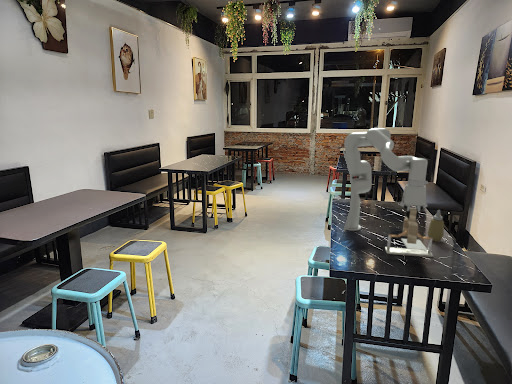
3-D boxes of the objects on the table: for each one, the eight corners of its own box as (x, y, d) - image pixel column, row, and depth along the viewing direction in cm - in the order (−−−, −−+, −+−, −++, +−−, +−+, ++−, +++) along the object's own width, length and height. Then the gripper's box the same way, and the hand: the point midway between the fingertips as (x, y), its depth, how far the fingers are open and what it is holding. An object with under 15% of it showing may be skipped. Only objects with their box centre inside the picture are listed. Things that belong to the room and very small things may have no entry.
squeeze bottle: (434, 243, 184) (438, 212, 179) (423, 238, 191) (427, 208, 187) (445, 241, 186) (450, 211, 181) (434, 236, 193) (439, 207, 189)
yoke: (402, 234, 175) (405, 205, 171) (410, 235, 174) (413, 205, 170) (407, 243, 164) (411, 211, 160) (416, 243, 164) (420, 212, 159)
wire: (384, 249, 176) (387, 225, 172) (428, 252, 172) (432, 228, 169) (387, 253, 170) (389, 229, 167) (432, 257, 166) (436, 232, 163)
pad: (401, 239, 189) (401, 238, 189) (419, 240, 187) (419, 239, 187) (407, 249, 176) (407, 248, 175) (427, 250, 174) (427, 249, 174)
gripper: (431, 182, 164) (426, 216, 169) (397, 180, 167) (393, 214, 171) (436, 185, 157) (431, 221, 161) (400, 184, 160) (396, 219, 164)
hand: (411, 217), depth 166 cm, fingers closed on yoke, 3 cm apart
